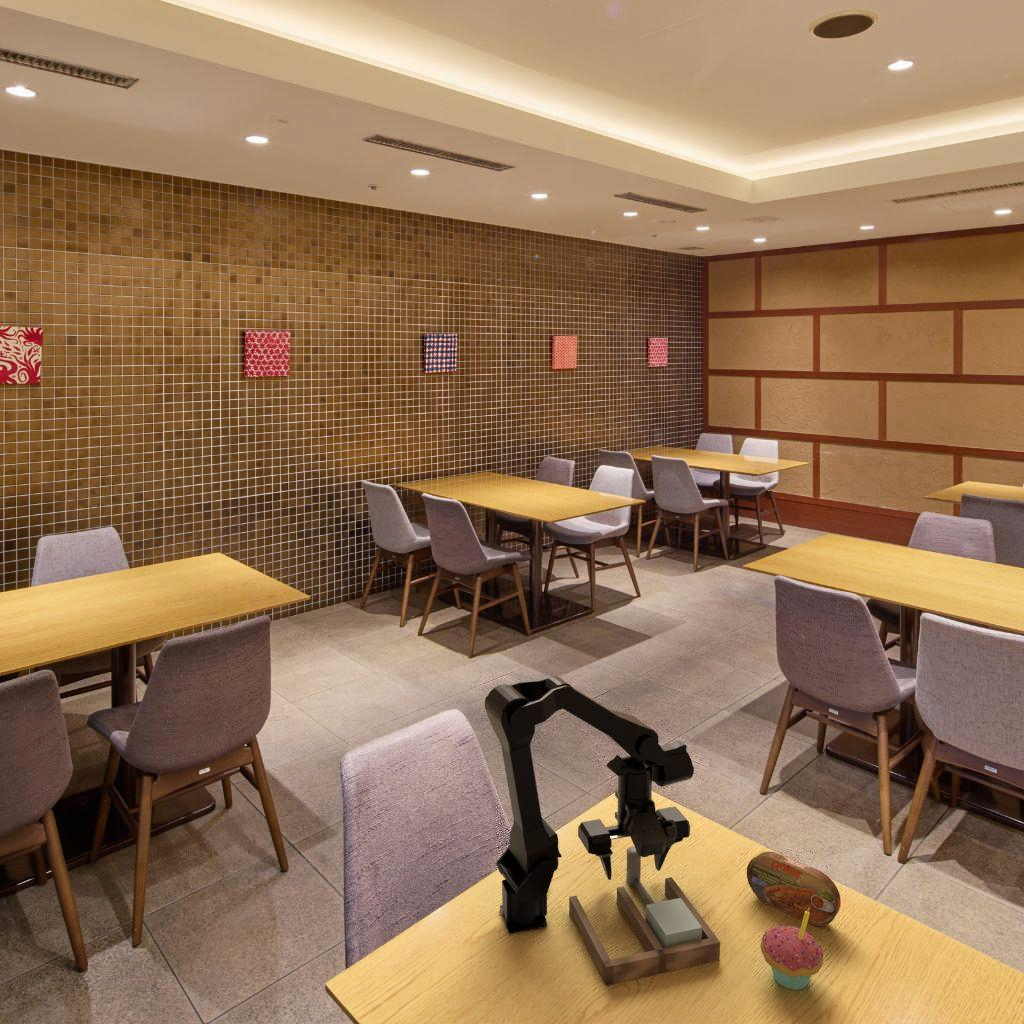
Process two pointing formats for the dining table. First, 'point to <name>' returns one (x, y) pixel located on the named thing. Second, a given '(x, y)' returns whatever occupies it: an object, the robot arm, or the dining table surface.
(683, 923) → the grey block with handle
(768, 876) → the tin
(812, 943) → the cupcake
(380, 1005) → the dining table surface
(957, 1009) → the dining table surface
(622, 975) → the lane rack
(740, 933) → the dining table surface
